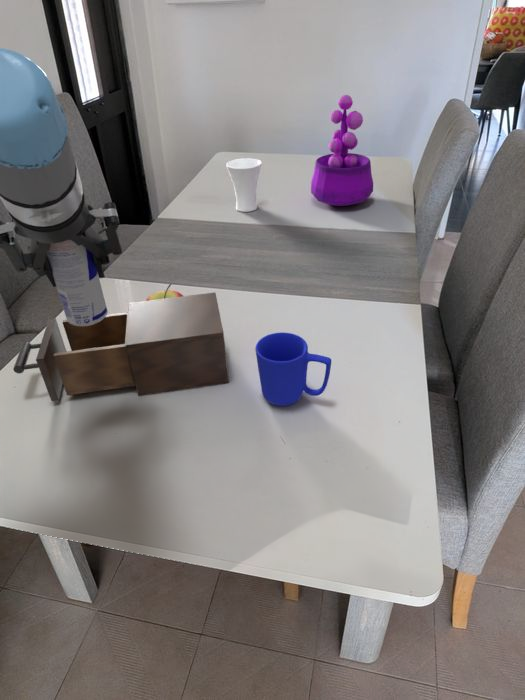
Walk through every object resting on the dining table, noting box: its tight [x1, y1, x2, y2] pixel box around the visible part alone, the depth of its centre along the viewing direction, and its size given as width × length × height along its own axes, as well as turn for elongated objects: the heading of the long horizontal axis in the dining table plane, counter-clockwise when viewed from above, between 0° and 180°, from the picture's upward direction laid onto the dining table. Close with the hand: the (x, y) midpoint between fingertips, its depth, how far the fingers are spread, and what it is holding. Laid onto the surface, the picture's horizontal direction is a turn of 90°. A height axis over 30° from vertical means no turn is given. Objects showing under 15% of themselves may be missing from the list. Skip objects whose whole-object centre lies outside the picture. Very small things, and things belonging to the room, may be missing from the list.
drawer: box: [13, 311, 136, 402], centre depth 89 cm, size 20×12×9 cm, turn 100°
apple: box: [145, 283, 184, 301], centre depth 102 cm, size 8×8×10 cm
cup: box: [225, 157, 262, 213], centre depth 154 cm, size 10×10×14 cm
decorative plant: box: [310, 94, 374, 207], centre depth 150 cm, size 19×18×30 cm
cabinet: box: [126, 292, 230, 397], centre depth 91 cm, size 16×14×11 cm
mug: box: [254, 332, 332, 407], centre depth 83 cm, size 8×12×10 cm
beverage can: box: [47, 240, 109, 326], centre depth 69 cm, size 6×6×15 cm
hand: (77, 273), depth 73 cm, fingers closed on beverage can, 6 cm apart
